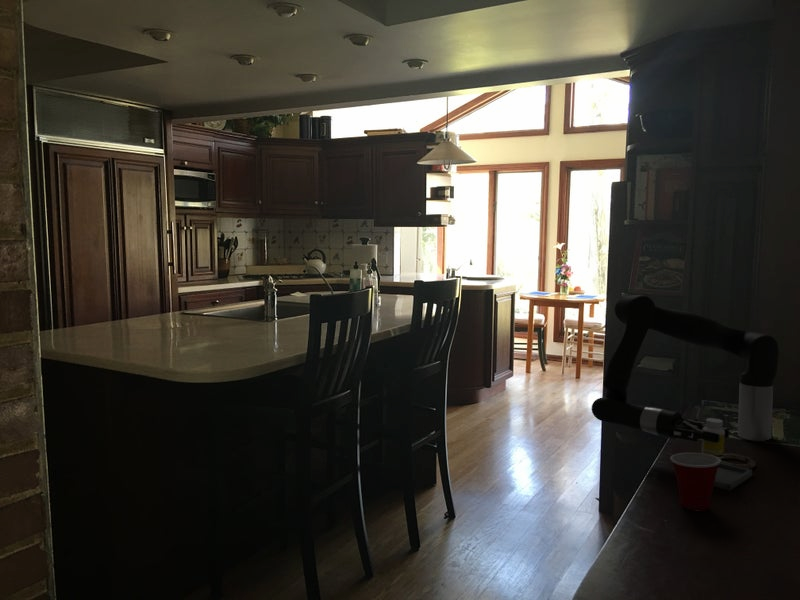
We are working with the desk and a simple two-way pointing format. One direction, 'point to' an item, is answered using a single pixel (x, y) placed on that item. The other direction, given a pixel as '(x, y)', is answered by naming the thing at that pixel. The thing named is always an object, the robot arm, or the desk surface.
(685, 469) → the plastic cup
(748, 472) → the tray
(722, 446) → the supplement bottle
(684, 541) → the desk surface
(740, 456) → the ring collar
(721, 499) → the desk surface
